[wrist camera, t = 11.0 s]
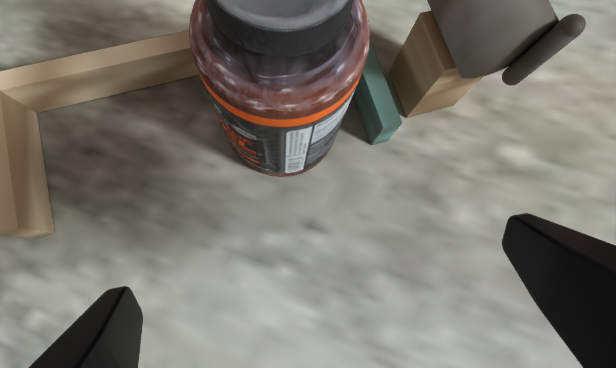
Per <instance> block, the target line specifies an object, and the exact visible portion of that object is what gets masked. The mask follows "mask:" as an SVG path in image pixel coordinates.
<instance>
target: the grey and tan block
mask: <svg viewBox="0 0 616 368" xmlns="http://www.w3.org/2000/svg"><path fill="white" fill-rule="evenodd" d="M427 1H428V3H429V5H430V8H431V10H432V11H428V12H423V13H420V15H419V17H418V18H417V20H416V22H415V24H414V26H413V28H412V30H411V32H410V33H409V35H408V37H407V39H406V41H405V43H404V45H403V47H402V49H401V50H400V52H399V54H398V56H397V58H396V60H395V62H394V64H393V65H392V67H391V69H390V71H389V74H390V77H391V79H392V82H393V84H394V87H395V90H396V92H397V95H398V97H399V100H400V102H401V105H402V108H403V110H404V113H405V115H406V118H408V117H411V116H415V115H419V114H423V113H426V112H430V111H434V110H437V109H441V108H445V107H448V106H452V105H454V104H455V103H456V102H457V101H458V100H459V99H460V98H461V97H463V96H464V95H465V94H466V93H467V92H468V91H469V90H470V89H471V88H472V87H473V86H474V85H475V84H476V83H477V82H478V81H479V80H480V79H481V78H482V77H483V76H486V75H489V74H492V73H494V72H497V71H500V70H502V69H504V68H506V67H508V66H509V67H508V68H507V69H506V70H505V71H504V72H503V74H502V80H503V82H504V83H505V84H507V85H516V84H518V83H519V82H520V81H522V80H523V79H524V78H525V77H527V76H528V75H529V74H531V73H532V72H533V71H534V70H536V69H537V68H538V67H539V66H541V65H542V64H543V63H545V62H546V61H547V60H548V59H550V58H551V57H552V56H553V55H555V54H556V53H557V52H558V51H560V50H561V49H562V48H564V47H565V46H566V45H567V44H569V43H570V42H571V41H572V40H574V39H575V38H576V37H578V36H579V35H580V34H581V33H582V32H583V30H584V28H585V24H586V22H585V19H584V18H583V17H582V16H581V15H578V14H571V15H568V16H566V17H564V18H563V19H562V20H560V21H559V19H558V18H557V16H556V14H555V12H554V10H553V8H552V6H551V4H550V2H549V0H427Z"/></svg>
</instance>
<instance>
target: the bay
mask: <svg viewBox="0 0 616 368" xmlns="http://www.w3.org/2000/svg"><path fill="white" fill-rule="evenodd" d="M197 75H200V74H199V71H198V69H197V67H196V64H195V61H194V58H193V55H192V52H191V46H190V41H189V30H187V31H183V32H178V33H174V34H169V35H164V36H160V37H155V38H151V39H146V40H141V41H137V42H132V43H128V44H123V45H118V46H114V47H109V48H105V49H100V50H96V51H91V52H86V53H82V54H77V55H73V56H68V57H63V58H59V59H54V60H50V61H45V62H41V63H36V64H31V65H27V66H22V67H18V68H13V69H8V70H4V71H0V235H5V236H14V237H23V238H32V239H34V238H38V237H42V236H45V235H49V234H52V233H55V230H54V224H53V217H52V211H51V204H50V198H49V191H48V185H47V178H46V172H45V165H44V159H43V152H42V145H41V139H40V132H39V126H38V119H37V113H39V112H43V111H48V110H52V109H56V108H60V107H65V106H69V105H73V104H77V103H82V102H86V101H90V100H94V99H99V98H103V97H107V96H112V95H116V94H120V93H124V92H129V91H133V90H137V89H141V88H146V87H150V86H154V85H158V84H163V83H167V82H171V81H175V80H180V79H184V78H188V77H192V76H197ZM353 95H354V98H355V101H356V104H357V107H358V109H359V112H360V115H361V118H362V120H363V123H364V126H365V129H366V131H367V134H368V137H369V140H370V143H371V145H374V144H377V143H381V142H385V141H388V140H389V139H390V137H391V136H392V135H393V134H394V132H395V131H396V130H397V129H398V128H399V126H400V125H401V124H402V121H401V118H400V116H399V113H398V111H397V108H396V105H395V103H394V100H393V98H392V95H391V92H390V90H389V87H388V85H387V82H386V79H385V77H384V74H383V72H382V69H381V66H380V64H379V61H378V59H377V56H376V54H375V51H374V48H373V46H372V43H371V41H370V42H369V51H368V55H367V59H366V62H365V66H364V68H363V71H362V74H361V76H360V78H359V81H358V84H357V87H356V89H355V91H354V93H353Z"/></svg>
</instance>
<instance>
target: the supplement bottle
mask: <svg viewBox="0 0 616 368" xmlns="http://www.w3.org/2000/svg"><path fill="white" fill-rule="evenodd" d="M189 41H190V46H191V52H192V55H193V58H194V61H195V64H196V67H197V69H198V71H199V74H200V76H201V79H202V82H203V85H204V86H205V88H206V91H207V93H208V95H209V97H210V99H211V102H212V104H213V106H214V108H215V111H216V113H217V115H218V117H219V119H220V122H221V125H222V127H223V128H224V131H225V134H226V136H227V137H228V140H229V142H230V144H231V146H232V148H233V150H234V151H235V152H236V153H237V155H238V156H239V157H240V158H241V159H242V160H243V161H244V162H245V163H246V164H247V165H249V166H250V167H252V168H253V169H255V170H257V171H259V172H261V173H264V174H268V175H270V176H278V177H284V176H293V175H297V174H300V173H303V172H306V171H308V170H309V169H311V168H313V167H314V166H316V165H317V164H318V163H319V162H320V161H321V160H322V159H323V158H324V157H325V156H326V154H327V153H328V151H329V149H330V148H331V146H332V144H333V142H334V139H335V137H336V135H337V132H338V130H339V127H340V125H341V123H342V120H343V118H344V115H345V113H346V111H347V108H348V105H349V103H350V101H351V98H352V96H353V93H354V91H355V89H356V87H357V84H358V81H359V78H360V76H361V74H362V71H363V68H364V66H365V62H366V59H367V55H368V51H369V42H370V27H369V22H368V18H367V14H366V10H365V7H364V5H363V3H362V0H196V1H195V3H194V5H193V9H192V13H191V17H190V25H189Z"/></svg>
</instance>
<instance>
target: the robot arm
mask: <svg viewBox="0 0 616 368" xmlns="http://www.w3.org/2000/svg"><path fill="white" fill-rule="evenodd" d="M502 246H503V250H504V252H505V254H506V255H507V257H508V259H509V260H510V262H511V263H512V265H513V267H514V268H515V270H516V272H517V273H518V275H519V277H520V278H521V280H522V282H523V283H524V285H525V287H526V288H527V290H528V292H529V293H530V295H531V297H532V298H533V300H534V301H535V303H536V304H537V306H538V307H539V309H540V310H541V311H542V313H543V314H544V316H545V317H546V318H547V320H548V321H549V322H550V324H551V325H552V326H553V328H554V329H555V330H556V332H557V333H558V334H559V336H560V337H561V338H562V340H563V341H564V342H565V344H566V345H567V346H568V348H569V349H570V351H571V352H572V353H573V355H574V356H575V357H576V359H577V360H578V361H579V363H580V364H581V365H582V367H583V368H616V246H615V245H613V244H610V243H607V242H605V241H602V240H599V239H597V238H594V237H591V236H588V235H586V234H583V233H580V232H578V231H575V230H572V229H569V228H567V227H564V226H561V225H559V224H556V223H553V222H550V221H548V220H545V219H542V218H540V217H537V216H534V215H532V214H528V213H524V214H518V215H513V216H511V217H510V218H509V219H508V221H507V224H506V228H505V232H504V236H503V239H502ZM142 324H143V315H142V311H141V308H140V306H139V304H138V302H137V300H136V298H135V296H134V294H133V292H132V291H131V289H130V288H129V287H126V286H124V287H118V288H113V289H109V290H107V291H106V292H105V293H104V294H103V295H102V296H100V297H99V298H98V299H97V300H96V301H95V302H94V303H93V304H92V305H91V306H90V307H89V308H88V309H87V310H86V311H85V312H84V313H83V314H82V315H81V316H80V317H79V318H78V319H77V320H76V321H75V322H74V323H73V324H72V325H71V326H70V327H69V328H68V329H67V330H66V331H65V332H64V333H63V334H62V335H61V336H60V337H59V338H58V339H57V340H56V341H55V342H54V343H53V344H52V345H51V346H50V347H49V348H48V349H47V350H46V351H45V352H44V353H43V354H42V355H41V356H40V357H39V358H38V359H37V360H36V361H35V362H34V363H33V364H32V365H31V366H30V367H29V368H138V362H139V353H140V343H141V334H142Z"/></svg>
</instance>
